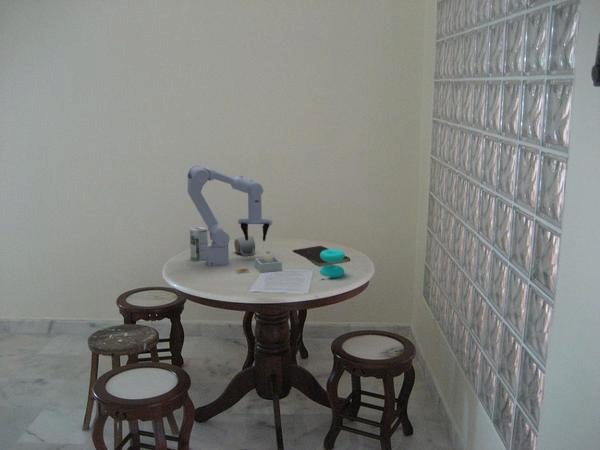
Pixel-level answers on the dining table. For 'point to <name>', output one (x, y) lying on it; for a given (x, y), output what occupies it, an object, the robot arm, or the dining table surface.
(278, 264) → the pale grey open tray
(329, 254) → the donuts
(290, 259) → the dining table surface
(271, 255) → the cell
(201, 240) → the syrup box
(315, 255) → the hardcover book
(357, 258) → the dining table surface
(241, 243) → the ceramic mug
